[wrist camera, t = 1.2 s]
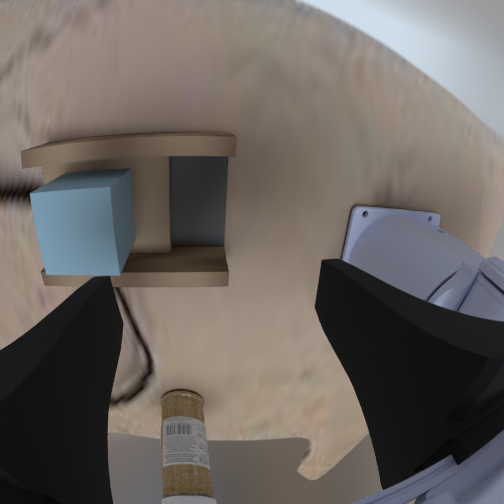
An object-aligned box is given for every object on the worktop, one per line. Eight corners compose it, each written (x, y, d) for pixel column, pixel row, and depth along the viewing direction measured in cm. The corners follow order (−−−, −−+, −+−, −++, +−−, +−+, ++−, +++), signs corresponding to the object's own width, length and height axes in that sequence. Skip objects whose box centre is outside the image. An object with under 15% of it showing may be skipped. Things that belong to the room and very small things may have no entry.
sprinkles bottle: (160, 409, 27) (163, 521, 16) (161, 386, 25) (162, 513, 14) (202, 412, 28) (215, 522, 17) (207, 389, 27) (222, 514, 15)
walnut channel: (229, 132, 17) (236, 137, 13) (223, 258, 20) (228, 286, 17) (48, 142, 14) (20, 151, 11) (63, 259, 18) (44, 285, 15)
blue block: (131, 168, 15) (110, 187, 12) (135, 238, 17) (120, 275, 14) (65, 173, 15) (29, 193, 11) (73, 240, 17) (46, 274, 13)
